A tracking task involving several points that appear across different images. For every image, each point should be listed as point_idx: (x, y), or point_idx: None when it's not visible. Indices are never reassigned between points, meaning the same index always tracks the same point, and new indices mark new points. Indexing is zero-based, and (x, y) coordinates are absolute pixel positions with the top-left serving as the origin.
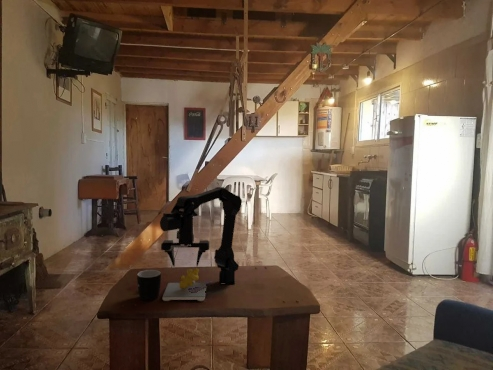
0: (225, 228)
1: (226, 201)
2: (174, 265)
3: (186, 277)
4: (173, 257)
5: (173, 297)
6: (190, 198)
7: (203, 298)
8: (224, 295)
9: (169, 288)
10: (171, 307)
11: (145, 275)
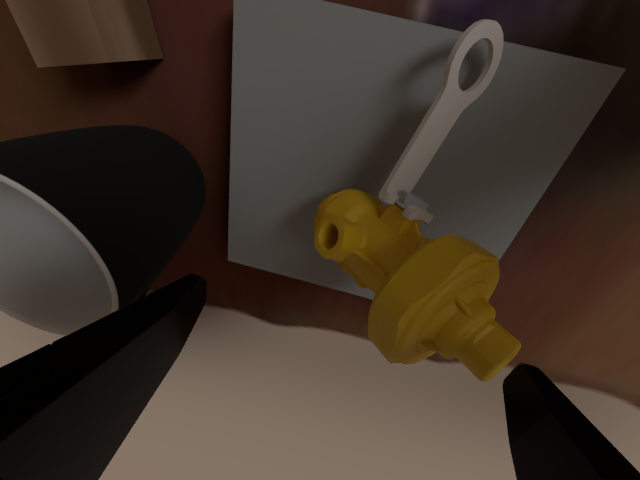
0: None
1: None
2: (200, 304)
3: (365, 284)
4: (101, 441)
5: (287, 271)
6: None
7: None
8: (633, 242)
9: (254, 145)
10: (286, 292)
11: None
